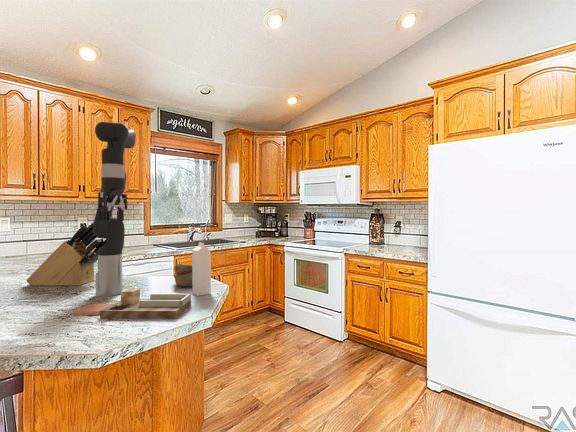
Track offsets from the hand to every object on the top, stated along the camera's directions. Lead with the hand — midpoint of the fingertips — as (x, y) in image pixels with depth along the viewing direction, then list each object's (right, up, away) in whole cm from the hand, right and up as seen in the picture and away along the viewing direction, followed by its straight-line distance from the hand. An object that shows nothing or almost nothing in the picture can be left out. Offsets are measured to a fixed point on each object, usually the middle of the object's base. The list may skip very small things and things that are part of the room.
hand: (113, 221), depth 113 cm
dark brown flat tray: (+15, -32, -5) cm, 35 cm away
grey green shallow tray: (+20, -29, -3) cm, 36 cm away
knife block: (-44, -32, +40) cm, 67 cm away
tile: (-5, -32, -3) cm, 32 cm away
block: (+7, -29, -2) cm, 30 cm away
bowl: (+15, -32, +34) cm, 49 cm away
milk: (+27, -32, +20) cm, 46 cm away
